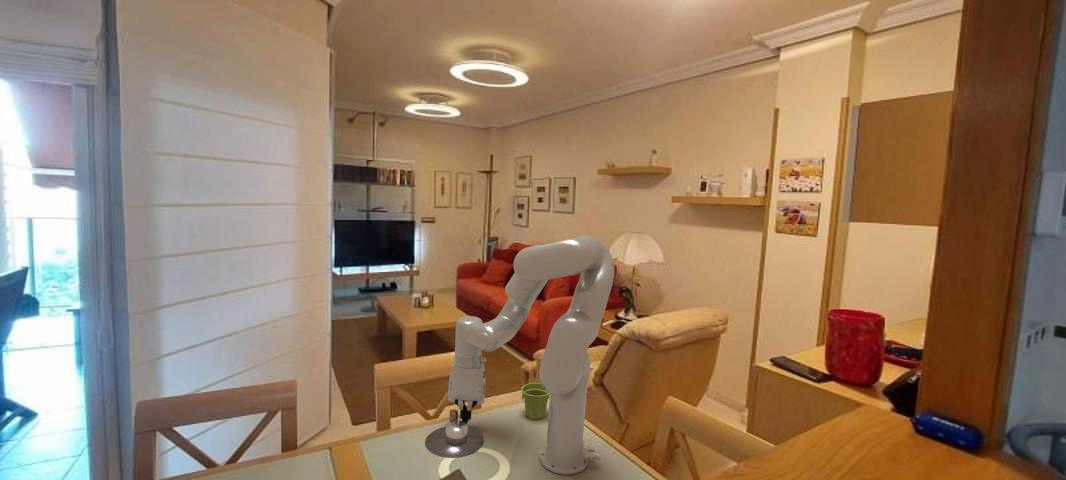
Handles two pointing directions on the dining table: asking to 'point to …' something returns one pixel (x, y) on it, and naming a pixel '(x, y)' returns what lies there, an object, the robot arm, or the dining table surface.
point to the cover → (456, 433)
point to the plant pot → (535, 400)
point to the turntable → (441, 448)
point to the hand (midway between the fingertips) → (465, 421)
